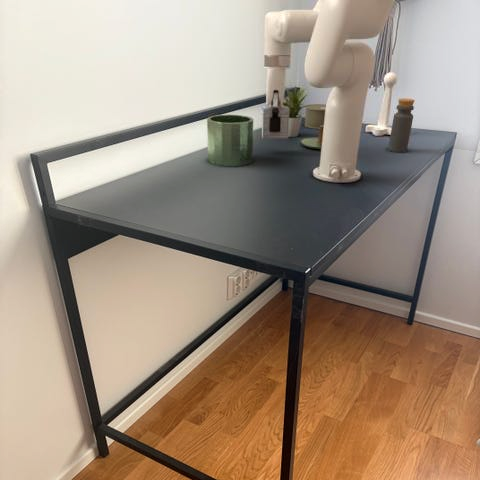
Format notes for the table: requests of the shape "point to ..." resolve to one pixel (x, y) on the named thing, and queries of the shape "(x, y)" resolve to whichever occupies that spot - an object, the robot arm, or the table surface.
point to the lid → (314, 140)
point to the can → (315, 115)
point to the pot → (230, 140)
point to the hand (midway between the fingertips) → (275, 129)
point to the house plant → (294, 111)
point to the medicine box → (283, 126)
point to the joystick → (384, 108)
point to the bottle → (401, 126)
